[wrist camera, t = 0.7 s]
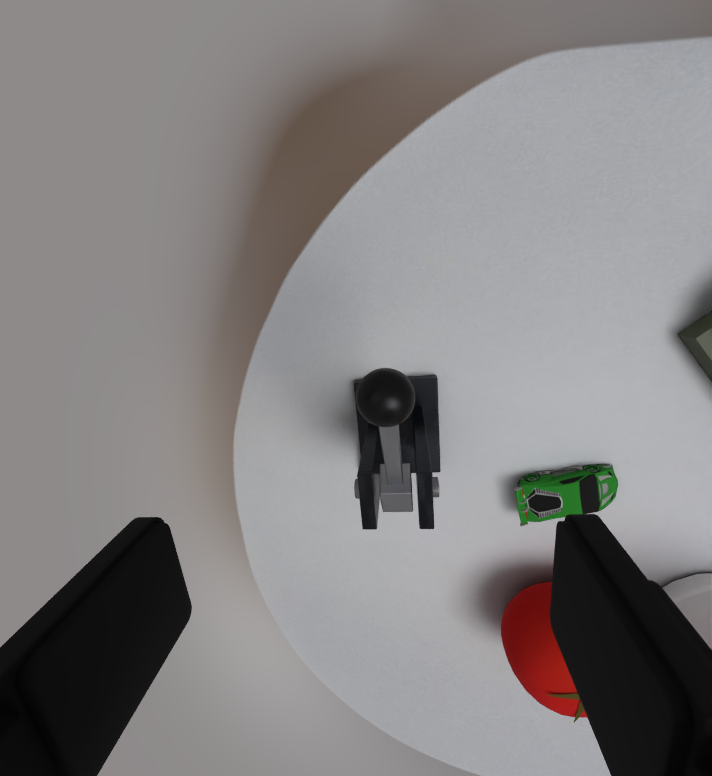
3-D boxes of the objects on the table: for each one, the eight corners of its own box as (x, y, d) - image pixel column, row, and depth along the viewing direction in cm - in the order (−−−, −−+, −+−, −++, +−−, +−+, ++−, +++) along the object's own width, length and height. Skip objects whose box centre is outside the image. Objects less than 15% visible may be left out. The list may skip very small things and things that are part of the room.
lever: (353, 357, 21) (350, 402, 19) (413, 353, 21) (416, 399, 18) (376, 478, 30) (376, 517, 28) (417, 477, 30) (420, 517, 28)
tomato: (515, 652, 47) (546, 756, 37) (476, 579, 44) (498, 670, 34) (618, 625, 44) (681, 730, 34) (582, 546, 41) (639, 634, 31)
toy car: (613, 458, 38) (625, 470, 36) (616, 499, 39) (629, 513, 37) (508, 476, 40) (514, 488, 38) (514, 514, 41) (521, 528, 39)
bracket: (355, 379, 39) (330, 437, 25) (436, 374, 37) (454, 432, 24) (363, 468, 41) (345, 562, 28) (439, 466, 40) (457, 562, 27)
